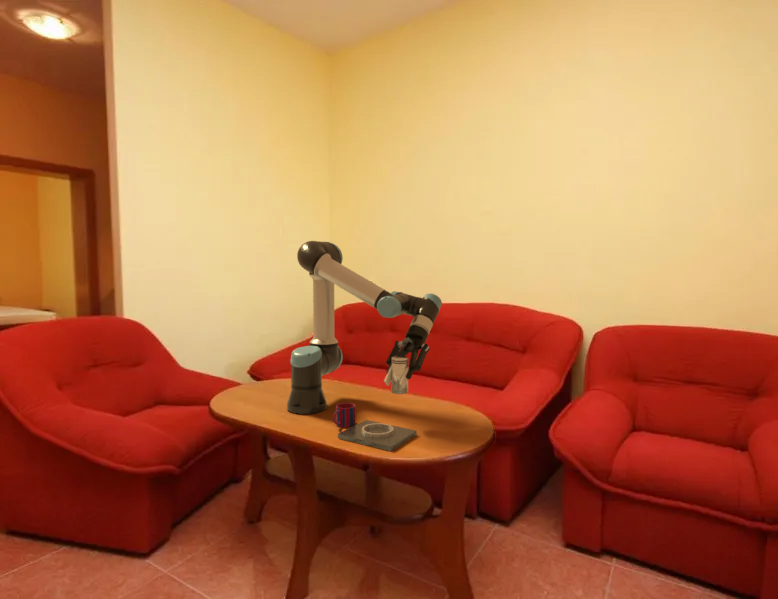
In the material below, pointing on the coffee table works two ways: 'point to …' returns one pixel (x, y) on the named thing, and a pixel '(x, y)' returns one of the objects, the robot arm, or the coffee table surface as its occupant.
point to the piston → (399, 374)
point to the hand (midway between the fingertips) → (393, 384)
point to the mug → (345, 415)
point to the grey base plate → (377, 435)
